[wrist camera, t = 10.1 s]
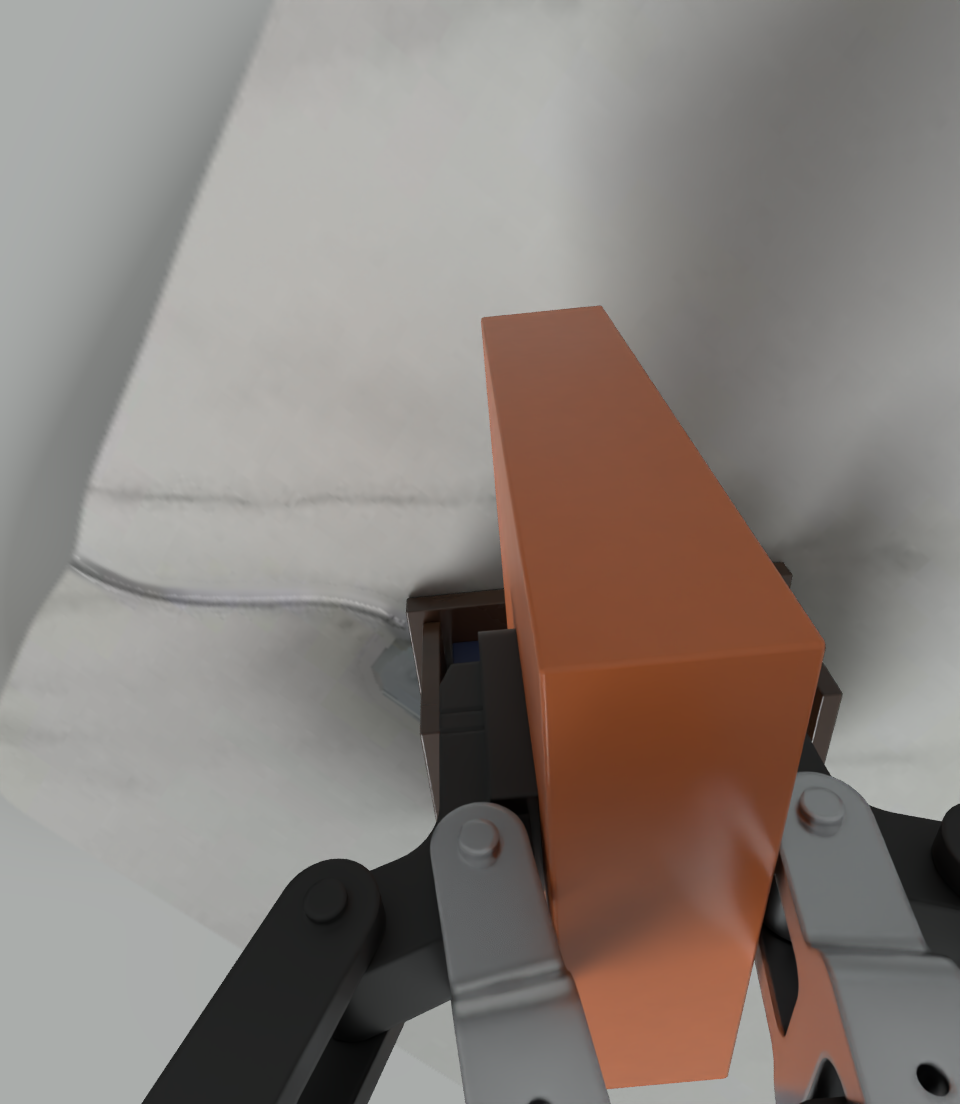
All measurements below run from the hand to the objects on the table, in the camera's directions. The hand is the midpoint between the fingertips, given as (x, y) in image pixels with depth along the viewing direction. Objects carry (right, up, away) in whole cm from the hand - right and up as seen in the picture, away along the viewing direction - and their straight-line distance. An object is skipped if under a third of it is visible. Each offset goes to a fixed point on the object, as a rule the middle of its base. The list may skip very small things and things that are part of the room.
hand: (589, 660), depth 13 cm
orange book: (0, +3, +5) cm, 6 cm away
